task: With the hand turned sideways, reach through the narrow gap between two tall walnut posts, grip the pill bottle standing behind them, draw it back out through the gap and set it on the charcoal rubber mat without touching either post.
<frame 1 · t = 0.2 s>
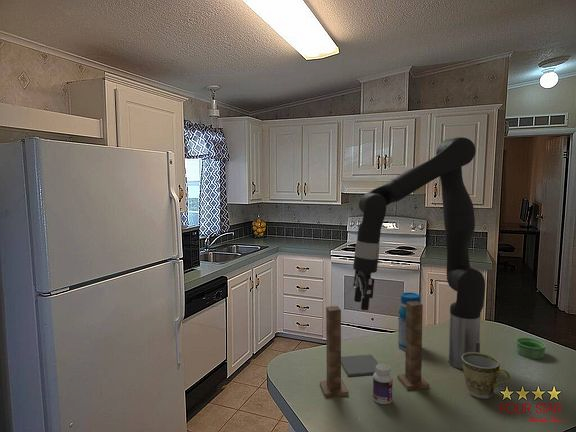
hand: (360, 305, 125), 22 cm above the kitchen island, tool pointing down, fingers open, 8 cm apart
ramekin: (530, 355, 137), on the kitchen island
pill bottle: (382, 400, 111), on the kitchen island
walnut post 1: (333, 390, 116), on the kitchen island
walnut post 2: (413, 383, 119), on the kitchen island
beverage bottle: (409, 347, 144), on the kitchen island
charcoal mat: (360, 366, 131), on the kitchen island
ceramic cup: (484, 395, 112), on the kitchen island
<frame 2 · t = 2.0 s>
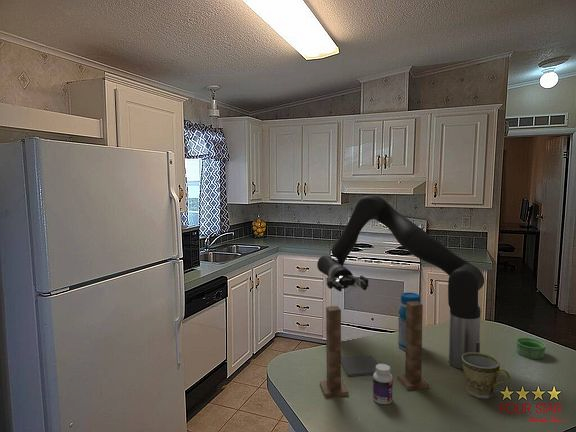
hand: (352, 287, 131), 26 cm above the kitchen island, tool horizontal, fingers open, 8 cm apart
nothing on the kitchen island moved.
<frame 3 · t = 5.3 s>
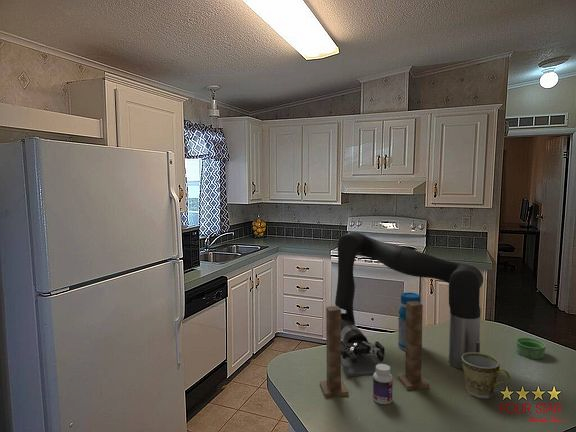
hand: (368, 360, 122), 6 cm above the kitchen island, tool horizontal, fingers open, 8 cm apart
nothing on the kitchen island moved.
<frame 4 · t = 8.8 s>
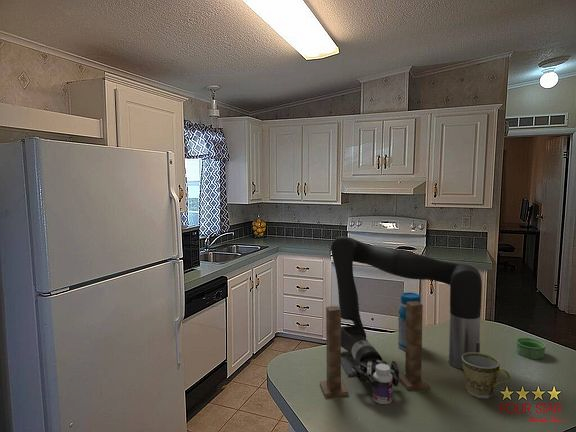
hand: (386, 383, 108), 6 cm above the kitchen island, tool horizontal, fingers closed on pill bottle, 5 cm apart
pill bottle: (382, 400, 111), on the kitchen island, touching gripper
everything else where it was.
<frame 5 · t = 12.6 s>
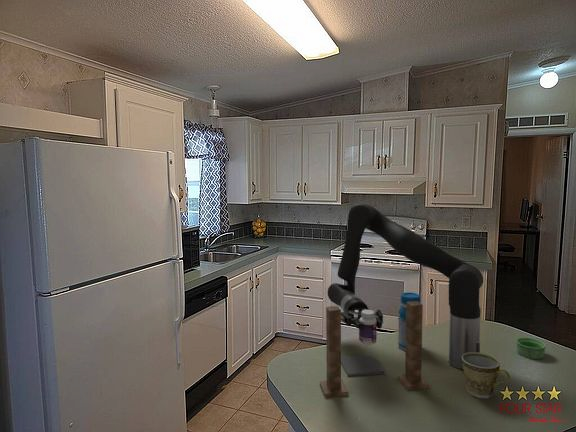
hand: (370, 326, 119), 18 cm above the kitchen island, tool horizontal, fingers closed on pill bottle, 5 cm apart
pill bottle: (367, 342, 122), point 11 cm above the kitchen island, touching gripper
everything else where it was.
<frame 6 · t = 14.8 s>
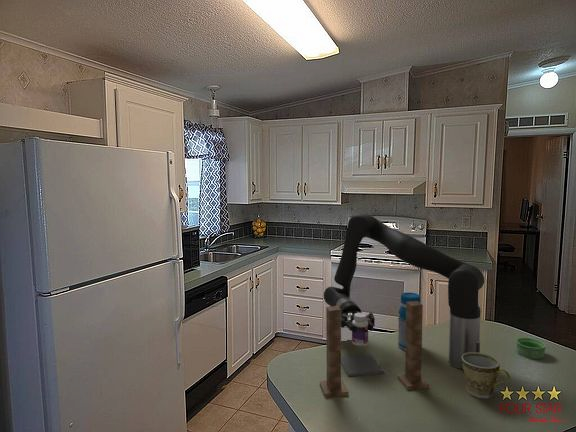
hand: (362, 328, 127), 14 cm above the kitchen island, tool horizontal, fingers closed on pill bottle, 5 cm apart
pill bottle: (359, 343, 130), point 8 cm above the kitchen island, touching gripper
everything else where it was.
when the fingers open (8 cm above the kitchen island, at t = 16.7 s): pill bottle stays where it is, resting on charcoal mat.
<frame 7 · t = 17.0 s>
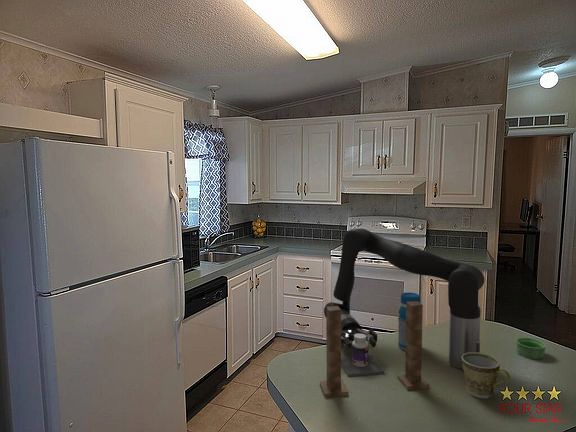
hand: (362, 345, 128), 8 cm above the kitchen island, tool horizontal, fingers open, 7 cm apart
pill bottle: (360, 364, 131), point 1 cm above the kitchen island, touching charcoal mat
everything else where it was.
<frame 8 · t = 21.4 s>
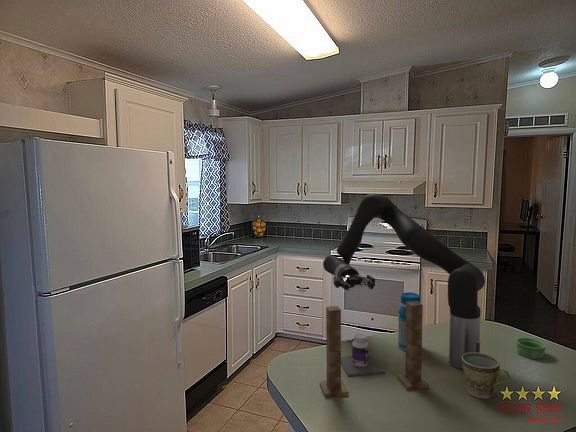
hand: (360, 287, 132), 26 cm above the kitchen island, tool horizontal, fingers open, 8 cm apart
nothing on the kitchen island moved.
at the end: pill bottle inside the target area on the charcoal mat (0.1 cm from its centre), point 0.6 cm above the charcoal mat's base; walnut post 1 moved 0.0 cm from its start; walnut post 2 moved 0.0 cm from its start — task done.
